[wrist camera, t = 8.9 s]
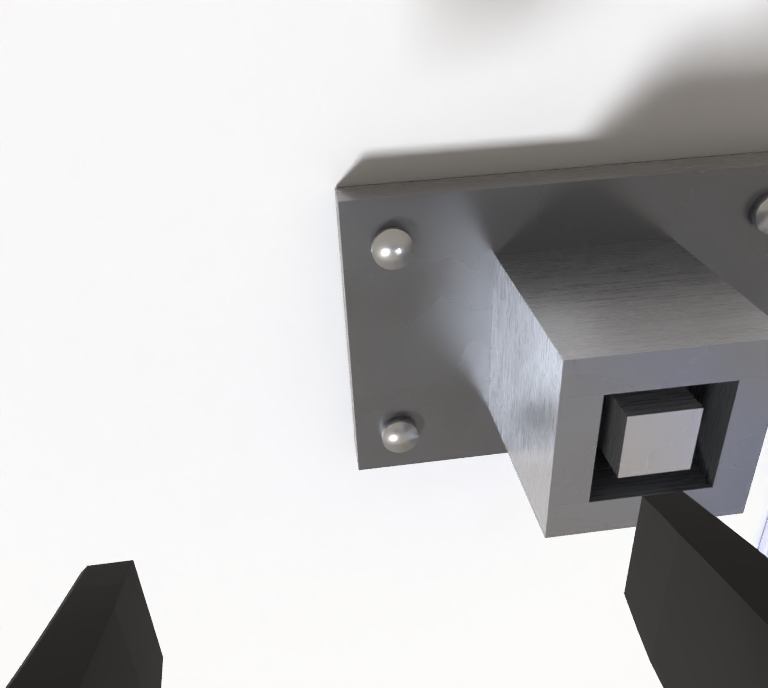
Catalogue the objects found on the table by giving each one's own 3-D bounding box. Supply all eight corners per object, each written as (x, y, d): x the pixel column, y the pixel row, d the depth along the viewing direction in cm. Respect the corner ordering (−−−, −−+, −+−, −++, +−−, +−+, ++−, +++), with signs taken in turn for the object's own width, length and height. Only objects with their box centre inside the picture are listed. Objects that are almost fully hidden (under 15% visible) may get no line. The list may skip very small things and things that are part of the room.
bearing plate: (801, 148, 19) (1000, 237, 14) (738, 403, 23) (872, 545, 18) (334, 187, 18) (359, 299, 13) (355, 448, 22) (380, 612, 17)
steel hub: (672, 238, 18) (792, 336, 14) (646, 389, 21) (742, 512, 17) (494, 254, 18) (563, 360, 14) (487, 407, 20) (545, 537, 16)
